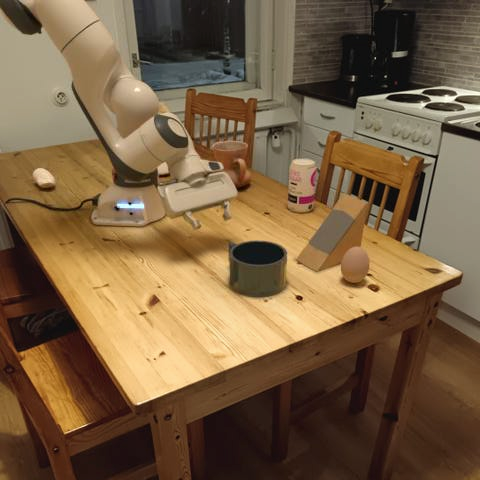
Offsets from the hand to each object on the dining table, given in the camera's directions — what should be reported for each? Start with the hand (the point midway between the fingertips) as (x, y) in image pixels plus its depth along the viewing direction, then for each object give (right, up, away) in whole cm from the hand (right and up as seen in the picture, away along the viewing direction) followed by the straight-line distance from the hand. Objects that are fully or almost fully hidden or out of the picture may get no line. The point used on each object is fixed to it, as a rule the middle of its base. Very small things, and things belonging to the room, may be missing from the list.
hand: (213, 223), depth 126 cm
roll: (-62, +23, +52) cm, 83 cm away
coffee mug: (+10, -14, -4) cm, 18 cm away
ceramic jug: (+4, +24, +53) cm, 58 cm away
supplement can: (+26, +11, +35) cm, 45 cm away
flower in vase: (-23, +32, +66) cm, 77 cm away
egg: (+34, -15, -4) cm, 37 cm away
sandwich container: (+30, -8, +6) cm, 31 cm away
